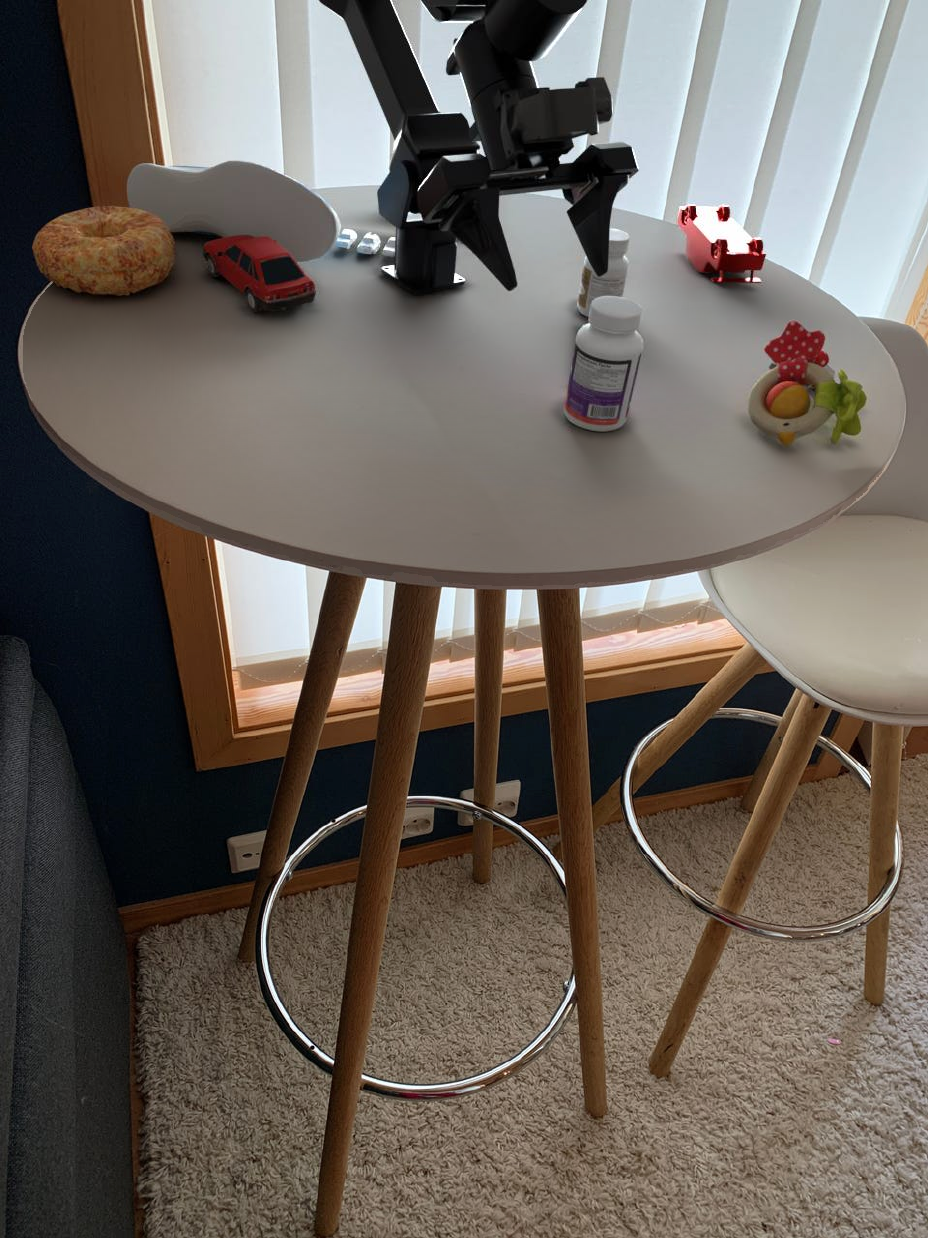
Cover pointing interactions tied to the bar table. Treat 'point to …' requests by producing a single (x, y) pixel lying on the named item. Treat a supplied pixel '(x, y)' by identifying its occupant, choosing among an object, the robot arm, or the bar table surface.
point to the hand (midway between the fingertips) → (559, 281)
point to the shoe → (237, 204)
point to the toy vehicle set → (366, 243)
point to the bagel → (105, 250)
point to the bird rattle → (803, 390)
